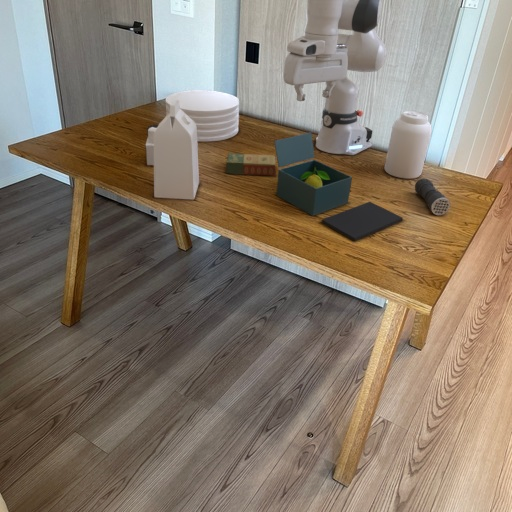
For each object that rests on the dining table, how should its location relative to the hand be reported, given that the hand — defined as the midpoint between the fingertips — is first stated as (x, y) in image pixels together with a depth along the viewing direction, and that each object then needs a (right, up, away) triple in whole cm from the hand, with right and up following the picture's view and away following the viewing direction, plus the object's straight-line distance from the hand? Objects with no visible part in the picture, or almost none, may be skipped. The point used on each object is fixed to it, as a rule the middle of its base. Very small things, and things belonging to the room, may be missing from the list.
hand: (313, 98), depth 137 cm
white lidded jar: (+34, -15, +33) cm, 50 cm away
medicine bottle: (-48, -12, +30) cm, 58 cm away
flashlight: (+36, -28, +13) cm, 48 cm away
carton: (-18, -15, +28) cm, 36 cm away
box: (+1, -26, +12) cm, 29 cm away
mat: (+14, -34, +1) cm, 36 cm away
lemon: (+1, -26, +12) cm, 29 cm away
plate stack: (-37, +7, +60) cm, 70 cm away
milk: (-39, -23, +13) cm, 48 cm away
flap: (-4, -12, +11) cm, 16 cm away
